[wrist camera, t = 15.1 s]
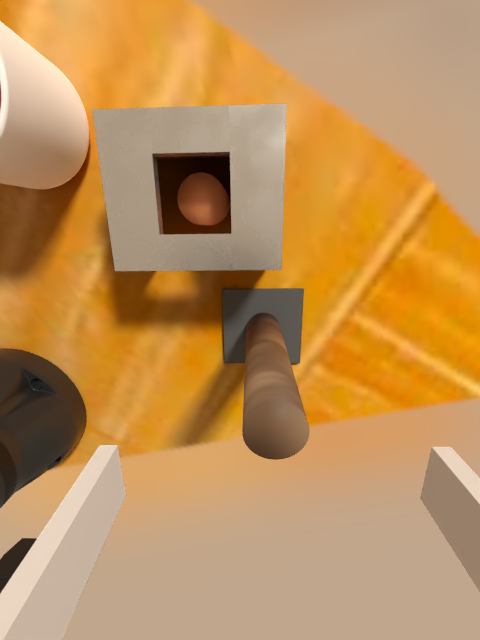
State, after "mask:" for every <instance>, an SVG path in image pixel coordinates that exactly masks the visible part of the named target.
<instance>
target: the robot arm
mask: <svg viewBox="0 0 480 640" xmlns="http://www.w3.org/2000/svg"><path fill="white" fill-rule="evenodd" d="M85 426H86V411H85V406H84V402H83V400H82V397H81V395H80V393H79V391H78V389H77V388H76V386H75V385H74V383H73V382H72V381H71V380H70V378H69V377H68V376H67V375H66V374H65V373H64V372H63V371H62V370H60V369H59V368H58V367H57V366H55V365H54V364H52V363H51V362H49V361H48V360H46V359H44V358H42V357H40V356H38V355H35V354H33V353H30V352H26V351H22V350H17V349H0V508H1V507H2V506H3V504H5V502H6V501H7V500H8V499H9V498H10V497H11V496H12V495H13V494H14V493H15V492H16V491H18V490H19V489H21V488H23V487H24V486H26V485H27V484H29V483H30V482H32V481H33V480H35V479H36V478H38V477H39V476H41V475H42V474H43V473H45V472H46V471H47V470H49V469H51V468H53V467H54V466H56V465H57V464H59V463H60V462H61V461H63V460H64V459H65V458H66V457H67V456H68V455H69V453H70V452H71V451H72V450H73V448H74V447H75V446H76V445H77V443H78V442H79V441H80V439H81V437H82V435H83V433H84V430H85ZM125 497H126V491H125V486H124V480H123V474H122V468H121V462H120V456H119V450H118V445H100V446H99V447H98V449H97V450H96V452H95V453H94V455H93V456H92V458H91V459H90V461H89V462H88V463H87V465H86V466H85V468H84V469H83V471H82V472H81V474H80V475H79V477H78V478H77V480H76V481H75V483H74V484H73V486H72V487H71V489H70V490H69V492H68V493H67V495H66V496H65V498H64V499H63V501H62V502H61V504H60V505H59V507H58V508H57V510H56V511H55V513H54V514H53V516H52V517H51V519H50V520H49V522H48V523H47V525H46V526H45V528H44V529H43V531H42V532H41V534H40V535H39V537H38V538H37V539H30V538H29V539H28V538H26V539H25V538H22V539H21V540H20V541H19V542H18V543H17V544H15V545H14V546H13V547H12V548H11V549H10V550H9V551H8V552H7V553H6V554H4V555H3V557H2V558H1V560H0V640H61V639H62V637H63V635H64V633H65V630H66V628H67V626H68V624H69V622H70V619H71V617H72V615H73V613H74V611H75V608H76V606H77V604H78V602H79V599H80V597H81V595H82V593H83V590H84V588H85V586H86V584H87V582H88V579H89V577H90V575H91V572H92V570H93V568H94V566H95V564H96V561H97V559H98V557H99V555H100V552H101V550H102V548H103V546H104V543H105V541H106V539H107V537H108V534H109V532H110V530H111V528H112V526H113V523H114V521H115V519H116V517H117V515H118V512H119V510H120V508H121V505H122V503H123V501H124V499H125ZM421 500H422V501H423V503H424V505H425V506H426V508H427V509H428V511H429V513H430V514H431V516H432V517H433V519H434V520H435V522H436V524H437V525H438V526H439V528H440V530H441V532H442V533H443V535H444V536H445V538H446V539H447V541H448V542H449V544H450V545H451V547H452V549H453V550H454V552H455V553H456V555H457V557H458V558H459V560H460V561H461V563H462V565H463V566H464V568H465V569H466V571H467V572H468V574H469V576H470V577H471V579H472V580H473V582H474V583H475V585H476V587H477V588H478V590H479V591H480V478H479V477H478V476H477V475H476V474H475V473H474V472H473V471H472V470H471V468H470V467H468V465H467V464H466V463H465V462H464V461H463V460H462V459H461V458H460V457H459V455H457V453H456V452H455V451H454V450H453V449H452V448H451V447H432V449H431V454H430V458H429V462H428V467H427V471H426V475H425V480H424V484H423V489H422V493H421Z"/></svg>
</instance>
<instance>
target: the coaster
mask: <svg viewBox="0 0 480 640" xmlns="http://www.w3.org/2000/svg"><path fill="white" fill-rule="evenodd" d="M222 293H223V325H224V356H225V363H245V357H246V332H247V324H248V321H249V320H250V318H251V317H253V316H254V315H256V314H258V313H269V314H271V315H273V316H274V317H275V318H276V319H277V320H278V322H279V325H280V328H281V332H282V335H283V339H284V342H285V346H286V349H287V353H288V356H289V360H290V363H300V350H301V331H302V312H303V294H304V289H223V290H222Z"/></svg>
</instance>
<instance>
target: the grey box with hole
mask: <svg viewBox="0 0 480 640" xmlns="http://www.w3.org/2000/svg"><path fill="white" fill-rule="evenodd" d="M286 107H287V104H266V105H231V106H196V107H162V108H127V109H92V112H93V120H94V127H95V134H96V141H97V148H98V155H99V162H100V169H101V176H102V183H103V190H104V197H105V204H106V211H107V218H108V226H109V233H110V240H111V247H112V254H113V261H114V268H115V271H206V270H282V241H283V207H284V174H285V140H286ZM207 157H230V185H231V233H224V234H164V233H163V222H162V211H161V199H160V188H159V177H158V165H157V159H162V158H207Z"/></svg>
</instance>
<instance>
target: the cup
mask: <svg viewBox="0 0 480 640" xmlns="http://www.w3.org/2000/svg"><path fill="white" fill-rule="evenodd" d="M88 147H89V125H88V119H87V115H86V111H85V109H84V106H83V103H82V101H81V99H80V97H79V95H78V93H77V91H76V90H75V88H74V87H73V85H72V84H71V82H70V81H69V80H68V79H67V77H66V76H65V75H64V74H63V73H62V72H61V71H60V70H59V69H58V68H57V67H56V66H54V65H53V64H52V63H51V62H50V61H48V60H47V59H46V58H45V57H43V56H42V55H41V54H40V53H39V52H37V51H36V50H35V49H34V48H32V47H31V46H30V45H29V44H28V43H26V42H25V41H24V40H23V39H21V38H20V37H19V36H18V35H17V34H15V33H14V32H13V31H12V30H10V29H9V28H8V27H7V26H6V25H4V24H3V23H2V22H1V21H0V183H1V184H7V185H13V186H19V187H24V188H30V189H50V188H54V187H58V186H60V185H62V184H64V183H66V182H68V181H69V180H70V179H72V178H73V177H74V176H75V175H76V174H77V172H78V171H79V170H80V168H81V167H82V165H83V163H84V161H85V158H86V155H87V152H88Z"/></svg>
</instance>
